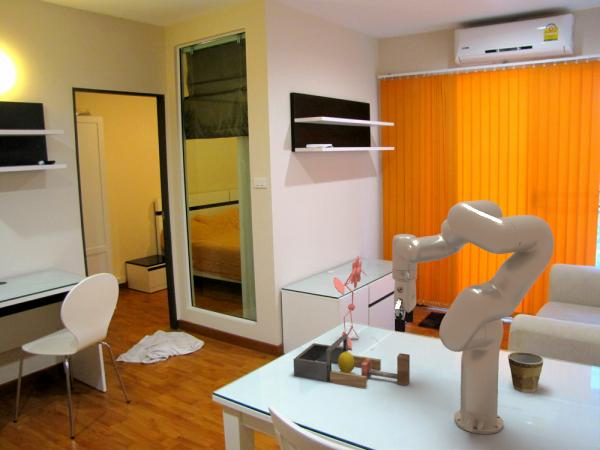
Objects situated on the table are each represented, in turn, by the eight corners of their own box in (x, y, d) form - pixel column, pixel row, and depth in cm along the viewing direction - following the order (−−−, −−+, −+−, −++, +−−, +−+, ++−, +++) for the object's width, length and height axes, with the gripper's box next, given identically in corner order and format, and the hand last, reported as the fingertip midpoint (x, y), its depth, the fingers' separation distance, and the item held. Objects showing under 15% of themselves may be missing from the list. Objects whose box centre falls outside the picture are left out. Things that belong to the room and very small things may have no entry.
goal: (330, 382, 170) (329, 350, 169) (293, 376, 176) (293, 344, 175) (347, 364, 185) (347, 334, 184) (313, 359, 191) (313, 329, 189)
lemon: (354, 371, 179) (354, 348, 178) (354, 377, 173) (354, 354, 172) (338, 370, 180) (338, 348, 179) (337, 377, 174) (337, 354, 173)
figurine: (328, 353, 195) (328, 261, 190) (349, 332, 219) (350, 249, 214) (368, 359, 189) (369, 264, 185) (385, 337, 213) (387, 252, 208)
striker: (406, 386, 165) (406, 359, 164) (361, 379, 171) (361, 353, 170) (410, 379, 170) (410, 353, 169) (366, 373, 176) (366, 347, 175)
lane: (365, 388, 165) (365, 377, 165) (330, 382, 170) (330, 371, 170) (380, 369, 180) (380, 359, 179) (347, 364, 185) (347, 354, 184)
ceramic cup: (546, 396, 156) (547, 364, 155) (510, 394, 159) (511, 362, 157) (535, 378, 169) (536, 348, 168) (503, 376, 171) (503, 347, 170)
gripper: (409, 281, 154) (408, 337, 157) (423, 269, 170) (422, 320, 172) (384, 279, 158) (384, 333, 160) (400, 267, 173) (399, 317, 175)
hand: (404, 326), depth 166 cm, fingers open, 9 cm apart
